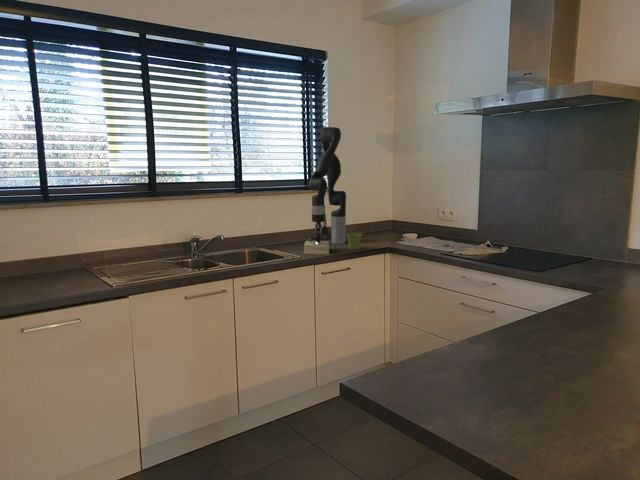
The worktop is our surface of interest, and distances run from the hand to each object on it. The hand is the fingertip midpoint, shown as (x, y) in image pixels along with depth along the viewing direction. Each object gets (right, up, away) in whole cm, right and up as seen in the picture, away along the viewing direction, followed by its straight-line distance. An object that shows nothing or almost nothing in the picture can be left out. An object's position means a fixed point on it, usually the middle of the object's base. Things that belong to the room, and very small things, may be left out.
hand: (318, 241), depth 270 cm
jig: (-1, -6, +1) cm, 6 cm away
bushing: (0, -6, +1) cm, 6 cm away
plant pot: (+21, -5, +8) cm, 23 cm away
